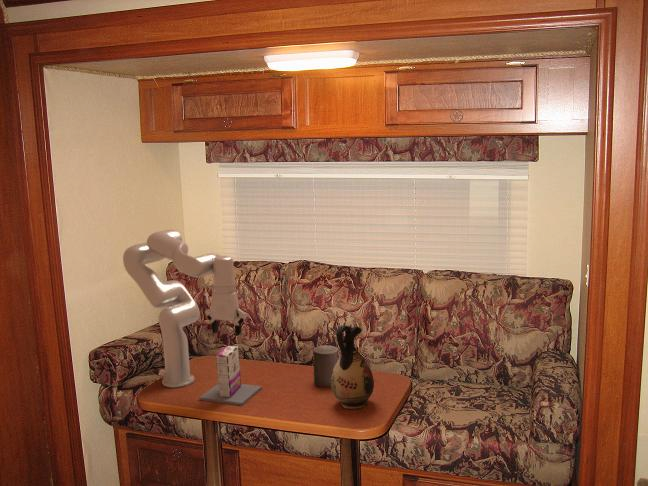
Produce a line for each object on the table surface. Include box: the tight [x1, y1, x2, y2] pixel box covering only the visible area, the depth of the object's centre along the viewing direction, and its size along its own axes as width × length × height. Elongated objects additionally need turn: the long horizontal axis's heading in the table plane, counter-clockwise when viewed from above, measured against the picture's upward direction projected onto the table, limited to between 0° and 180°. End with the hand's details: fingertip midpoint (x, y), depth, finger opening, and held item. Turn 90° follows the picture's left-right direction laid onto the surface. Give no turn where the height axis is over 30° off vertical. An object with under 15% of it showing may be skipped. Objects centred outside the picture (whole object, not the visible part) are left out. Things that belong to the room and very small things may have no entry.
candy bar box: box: [215, 345, 242, 397], centre depth 232 cm, size 11×5×16 cm, turn 167°
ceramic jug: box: [330, 324, 375, 409], centre depth 218 cm, size 17×15×30 cm
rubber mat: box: [198, 383, 263, 406], centre depth 233 cm, size 18×16×1 cm
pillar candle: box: [312, 345, 339, 388], centre depth 240 cm, size 10×10×15 cm
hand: (226, 333), depth 229 cm, fingers open, 9 cm apart
